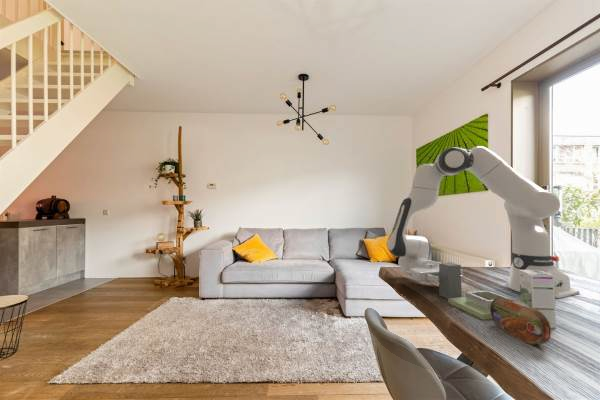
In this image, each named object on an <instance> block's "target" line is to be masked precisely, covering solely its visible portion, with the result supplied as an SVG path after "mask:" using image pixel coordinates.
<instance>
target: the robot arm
mask: <svg viewBox="0 0 600 400" xmlns="http://www.w3.org/2000/svg"><path fill="white" fill-rule="evenodd" d="M464 171H467V172H470V173H471V174H472V175H473V176H475V177H476V179H477V180H479V181H480V182H481V183H482V184H483V185H484V186H485V187H486V188H488V190H489V191H491V193H493V194H494V195H497V196H498V197H500V198H501V199H503V200H504V203H503V204H504V205H503V207H504V209H505V210H506V214H507V218H508V223H509V226H510V231H511V245H512V246H511V247H512V249H511V250H512V252H511V255H510V258H511V262H512V263H511V265H510V269H509V279H508V280H507V285H508V286H507V287H508V288H509V289H511V290H513V291H515V292H519V293H520V276H519V270H540V271H543V272H546V273H549V274H551V275H554V291H555V299H561V298H565V297H570V296H574V295H578V294H580V290H579V289H576V288H575V287H571V281H570V278H569V277H570V276H569V275H567V274H565V273H564V272H563V271H562V270H561V269H559V268H558V267H557V266H555V263H554V262H556V263H557V262H558V263H559V256H556V255H555V256H554V255H551V254H550V234H549V233H548V231H547V230H546V227H545V225H544V221H543V220H544V219H548V218H550V217H552V216H555V214H557V213H558V212H559V210H560V208H561V201H560V199H559V198H558V196H556V194H554V193H552V192H550V191H548V190H545V189H544V188H542V187H541V186H539V185H538V184H536V183H534V182H533V181H531V180H529V179H527V178H526V177H524V176H523V175H522V174H520V173H519V172H517V171H516V170H515V169H514V168H513V167H512V166H510V165H509V164H508V163H507V162H506V161H505V160H504V159H502V158H501V157H500V156H499V155H498V154H496V153H495V152H493V151H492V150H490V149H488V148H487V147H485V146H482V145H478V146H475V147H472V148H471V149H465V148H461V147H458V146H457V147H455V146H454V147H453V146H451V147H448V148H446V149H444V150H443V151H442V152H440V153H439V154H438V156H437V157H436V159H435V160H434V162H433V163H423V164H421V165H419V166H418V167H417V168H416V171H415V173H414V175H413V179H412V183H411V184H412V185H411V189H410V193H409V194H408V196H407V197H406V198H404V199H403V200H402V202H401V204H400V207H399V210H398V212H397V214H396V215H397V216H396V219H395V220H394V221H395V222H394V224H393V228H392V230H391V233H390V235H389V237H388V239H387V242H386V247H387V250H388V251H389V253H390V254H391V255H392V256H393V257H396V258H398V257H399V258H398V262H397V263H398V266H399V268H400V269H401V270H402V271H403V272H404V273H405V274H406V275H408V276H409V278H411V279H412V280H413V281H416V282H420V283H422V282H425V283H431V282H435V283H439V282H441V280H440V279H441V278H440V277H439V263H447V262H446V261H440V260H439V261H437V260H431V259H430V256H431V252H432V247H431V244H430V241H429V239H427V237H425V236H423V235H422V236H421V235H413V234H412V235H411V234H406V232H407V228H408V225H409V221H410V219H411V217H412V216H413V215H414V214H415V213H418V212H421V211H425V210H427V209H430V208H431V207H433V206H434V205H435V204H436V203H437V201H438V199H439V198H438V197H439V192H440V185H441V181H442V180H443V178H446V177H452V176H455V175H458V174H460V173H461V172H464ZM461 281H464V271H463V268H461Z"/></svg>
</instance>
